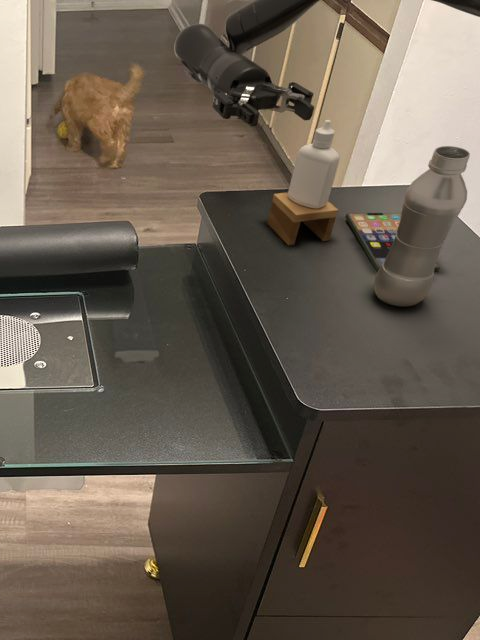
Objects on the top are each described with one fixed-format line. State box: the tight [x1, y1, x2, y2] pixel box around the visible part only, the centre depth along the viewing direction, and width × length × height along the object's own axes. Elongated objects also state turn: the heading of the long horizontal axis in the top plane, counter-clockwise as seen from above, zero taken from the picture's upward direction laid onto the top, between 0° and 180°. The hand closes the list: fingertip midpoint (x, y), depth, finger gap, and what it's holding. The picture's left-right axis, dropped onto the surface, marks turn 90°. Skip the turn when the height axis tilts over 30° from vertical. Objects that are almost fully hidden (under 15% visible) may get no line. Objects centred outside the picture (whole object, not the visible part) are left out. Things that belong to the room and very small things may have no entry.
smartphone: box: [345, 212, 440, 272], centre depth 106 cm, size 8×15×1 cm, turn 175°
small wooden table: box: [266, 191, 339, 246], centre depth 108 cm, size 6×7×5 cm
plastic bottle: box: [373, 145, 471, 307], centre depth 89 cm, size 6×7×20 cm
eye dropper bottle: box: [287, 119, 341, 209], centre depth 103 cm, size 4×6×12 cm
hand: (283, 117), depth 110 cm, fingers open, 8 cm apart
